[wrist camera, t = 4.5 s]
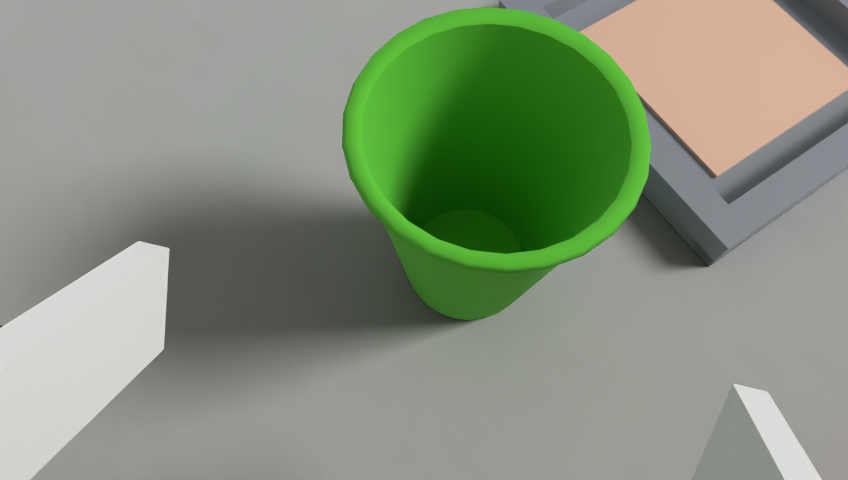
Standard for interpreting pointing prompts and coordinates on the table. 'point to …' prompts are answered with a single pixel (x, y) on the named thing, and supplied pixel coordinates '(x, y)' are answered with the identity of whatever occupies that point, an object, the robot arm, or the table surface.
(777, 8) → the gray picture frame
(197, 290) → the table surface
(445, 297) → the cup
